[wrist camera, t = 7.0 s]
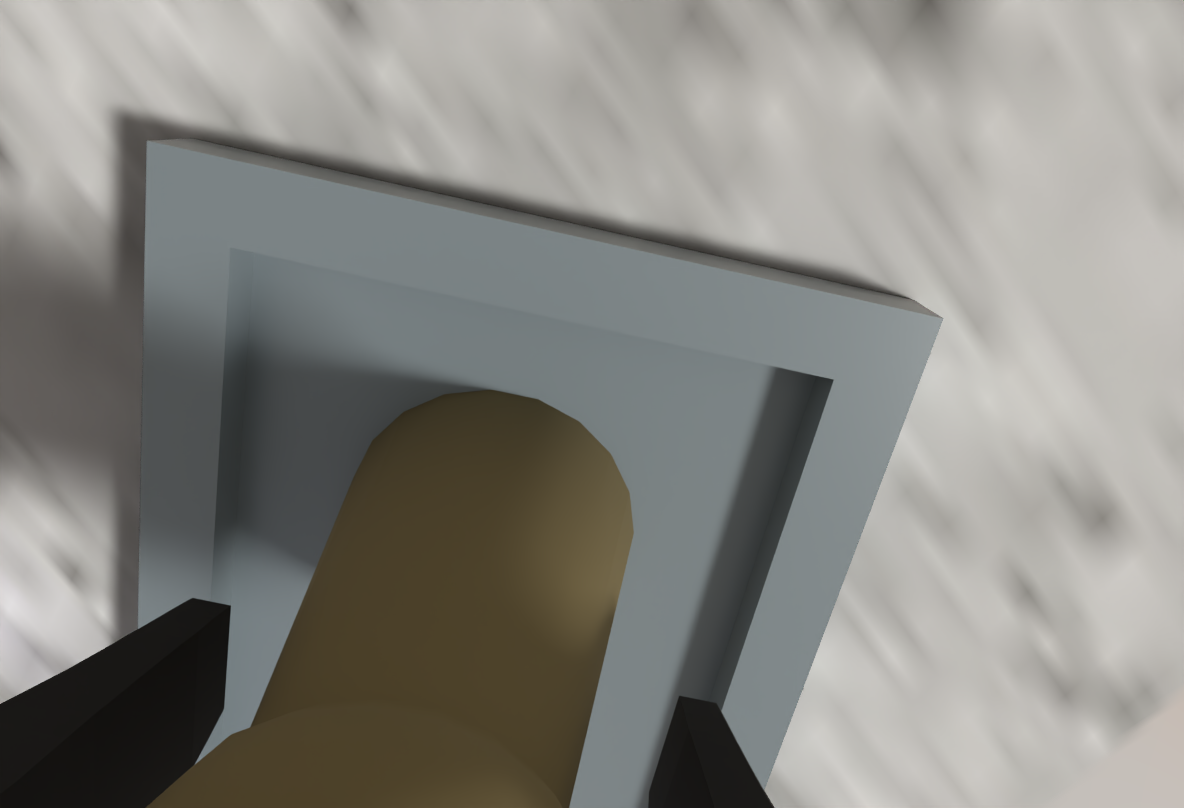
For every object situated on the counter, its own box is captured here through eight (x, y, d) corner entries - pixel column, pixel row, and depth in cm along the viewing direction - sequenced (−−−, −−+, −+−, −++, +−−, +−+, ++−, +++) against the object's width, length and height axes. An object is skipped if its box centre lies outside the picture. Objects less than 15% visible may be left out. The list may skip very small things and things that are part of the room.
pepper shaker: (296, 540, 17) (-208, 1194, 7) (457, 329, 15) (113, 770, 5) (519, 689, 18) (385, 1444, 8) (693, 507, 16) (815, 1170, 6)
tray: (663, 987, 22) (666, 1047, 21) (163, 894, 22) (131, 948, 20) (913, 300, 15) (943, 318, 14) (191, 137, 15) (146, 140, 13)
